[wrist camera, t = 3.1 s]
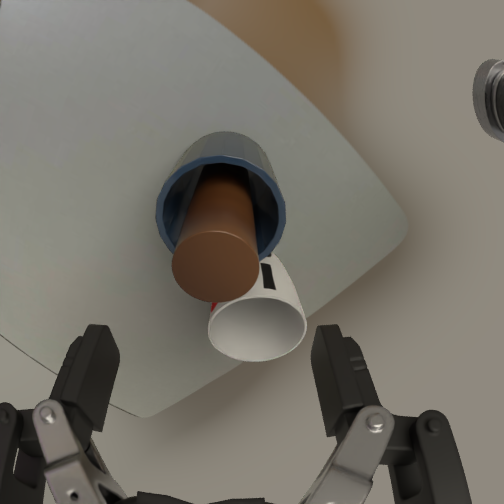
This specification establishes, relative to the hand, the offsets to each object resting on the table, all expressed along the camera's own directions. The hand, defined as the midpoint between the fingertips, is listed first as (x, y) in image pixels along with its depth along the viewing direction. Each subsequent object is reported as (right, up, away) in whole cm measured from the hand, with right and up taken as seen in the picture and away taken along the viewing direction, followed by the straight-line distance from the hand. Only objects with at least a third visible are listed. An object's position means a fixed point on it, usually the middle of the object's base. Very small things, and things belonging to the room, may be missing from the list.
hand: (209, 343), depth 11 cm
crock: (-1, +10, +16) cm, 19 cm away
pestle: (-1, +10, +16) cm, 19 cm away
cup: (+2, +2, +22) cm, 22 cm away
